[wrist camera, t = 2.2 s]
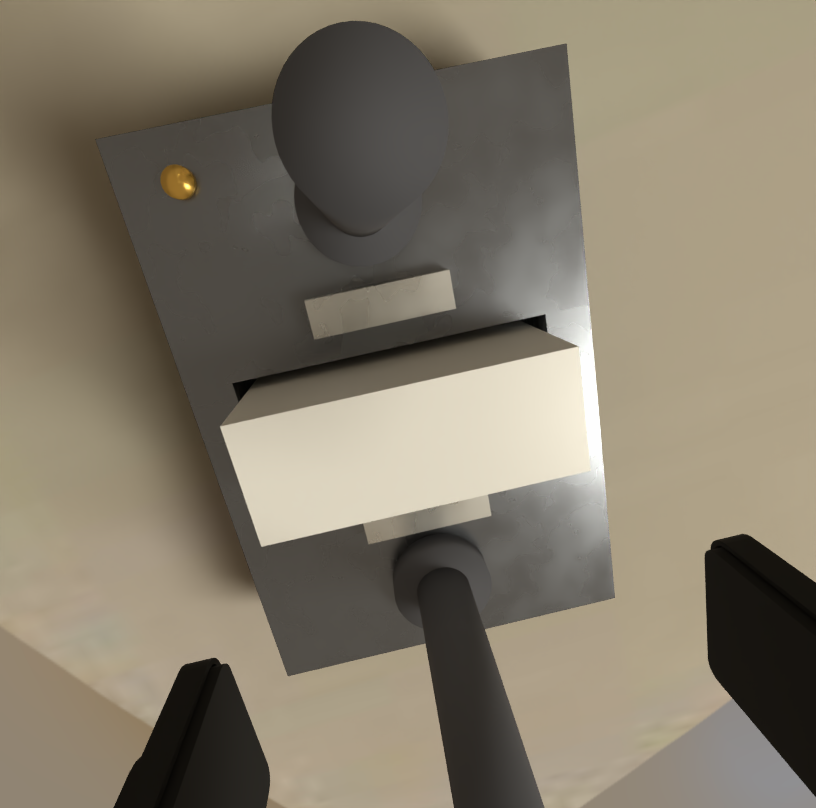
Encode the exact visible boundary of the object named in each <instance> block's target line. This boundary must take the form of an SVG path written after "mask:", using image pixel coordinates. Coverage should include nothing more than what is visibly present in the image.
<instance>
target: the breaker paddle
mask: <svg viewBox="0 0 816 808" xmlns="http://www.w3.org/2000/svg"><path fill="white" fill-rule="evenodd" d="M220 428H221V431H222V434H223V437H224V440H225V443H226V446H227V448H228V451H229V454H230V457H231V460H232V463H233V466H234V469H235V472H236V475H237V477H238V480H239V483H240V486H241V489H242V492H243V495H244V498H245V501H246V504H247V507H248V509H249V512H250V515H251V518H252V521H253V524H254V527H255V530H256V533H257V536H258V539H259V541H260V544H261V547H263V546H267V545H272V544H276V543H280V542H285V541H289V540H293V539H298V538H302V537H306V536H311V535H315V534H319V533H324V532H328V531H332V530H337V529H341V528H345V527H350V526H354V525H358V524H363V523H367V522H371V521H376V520H380V519H384V518H389V517H393V516H397V515H402V514H406V513H410V512H415V511H419V510H423V509H427V508H432V507H436V506H440V505H445V504H449V503H453V502H458V501H462V500H466V499H471V498H475V497H479V496H484V495H488V494H492V493H497V492H501V491H505V490H510V489H514V488H518V487H523V486H527V485H531V484H536V483H540V482H544V481H549V480H553V479H557V478H562V477H566V476H570V475H575V474H579V473H583V472H588V471H591V469H590V458H589V448H588V438H587V427H586V417H585V407H584V396H583V386H582V375H581V365H580V355H579V346H576V345H574V344H572V343H570V342H567V341H565V340H563V339H560V338H558V337H556V336H554V335H551V334H549V333H547V332H545V331H542V330H540V329H538V328H535V327H533V326H531V325H529V324H526V323H524V322H522V321H520V320H517V321H512V322H508V323H503V324H499V325H494V326H490V327H485V328H481V329H476V330H471V331H467V332H462V333H458V334H453V335H449V336H444V337H440V338H435V339H431V340H426V341H422V342H417V343H413V344H408V345H403V346H399V347H394V348H390V349H385V350H381V351H376V352H372V353H367V354H363V355H358V356H354V357H349V358H345V359H340V360H335V361H331V362H326V363H322V364H317V365H313V366H308V367H304V368H299V369H295V370H290V371H286V372H281V373H276V374H272V375H267V376H263V377H258V378H257V379H256V381H255V382H254V383H253V385H252V386H251V387H250V388H249V390H248V391H247V392H246V394H245V395H244V396H243V397H242V399H241V400H240V401H239V403H238V404H237V405H236V406H235V408H234V409H233V410H232V412H231V413H230V414H229V416H228V417H227V418H226V419H225V421H224V422H223V423H222V425H221V426H220Z"/></svg>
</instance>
